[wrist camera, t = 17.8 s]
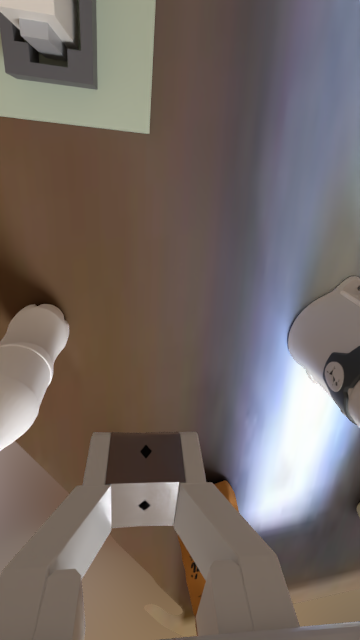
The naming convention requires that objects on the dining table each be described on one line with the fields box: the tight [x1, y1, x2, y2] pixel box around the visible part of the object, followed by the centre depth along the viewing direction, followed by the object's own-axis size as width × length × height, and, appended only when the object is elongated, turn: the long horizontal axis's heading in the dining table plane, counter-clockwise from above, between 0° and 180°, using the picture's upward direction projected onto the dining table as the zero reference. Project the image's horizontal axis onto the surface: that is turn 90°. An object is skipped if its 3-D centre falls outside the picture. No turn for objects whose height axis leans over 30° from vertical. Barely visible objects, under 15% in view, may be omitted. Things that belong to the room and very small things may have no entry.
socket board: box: [0, 0, 156, 134], centre depth 28 cm, size 18×16×4 cm
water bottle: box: [0, 304, 69, 451], centre depth 34 cm, size 7×7×25 cm
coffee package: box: [178, 481, 239, 636], centre depth 57 cm, size 10×12×22 cm
